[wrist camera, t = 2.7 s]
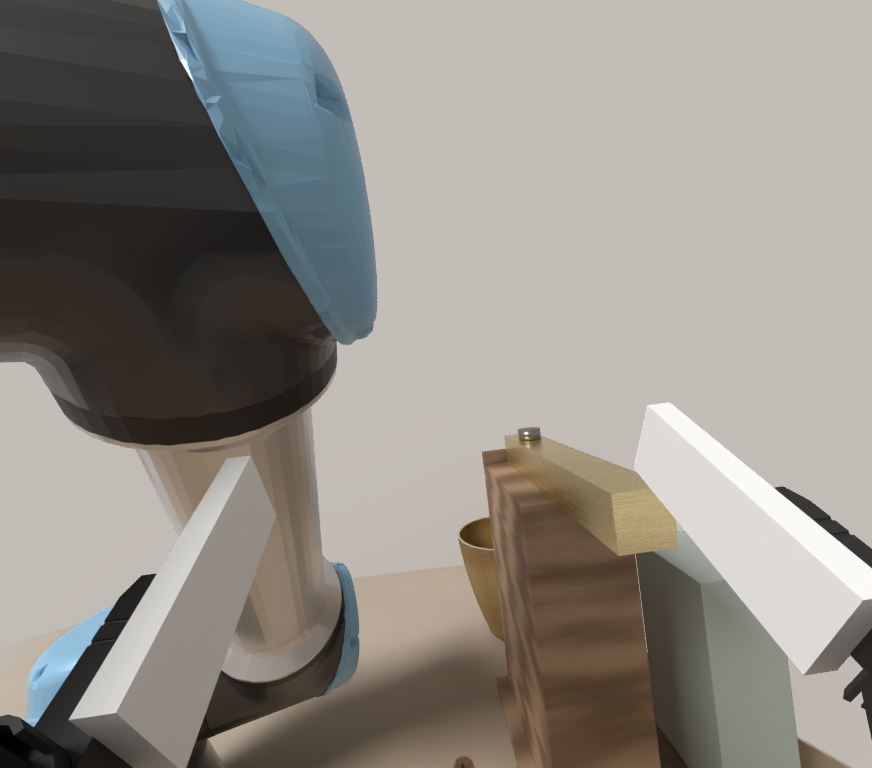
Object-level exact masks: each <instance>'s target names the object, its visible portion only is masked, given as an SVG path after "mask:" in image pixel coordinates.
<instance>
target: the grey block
mask: <svg viewBox="0 0 872 768" xmlns="http://www.w3.org/2000/svg"><path fill="white" fill-rule="evenodd" d="M677 538H678V546H679V547H678V548H671V549H664V550H657V551H650V552H643V553H636V559H637V567H638V575H639V584H640V591H641V600H642V608H643V617H644V625H645V633H646V642H647V650H648V658H649V666H650V675H651V683H652V691H653V699H654V708H655V716H656V723H657V725H658V726H659V727H660V729H661V730H662V732H663V733H664V734H665V736H666V737H667V739H668V740H669V741H670V743H671V744H672V746H673V747H674V748H675V750H676V751H677V753H678V754H679V755H680V757H681V758H682V760H683V761H684V762H685V764H686V765H687V767H688V768H801V764H800V756H799V748H798V740H797V732H796V724H795V716H794V708H793V700H792V692H791V684H790V676H789V669H788V668H789V667H788V660H787V655H786V654H785V652H784V651H783V650H782V649H781V647H780V646H779V645H778V644H777V643H776V641H775V640H774V639H773V638H772V636H771V635H770V634H769V633H768V632H767V630H766V629H765V628H764V627H763V625H762V624H761V623H760V622H759V621H758V619H757V618H756V617H755V616H754V614H753V613H752V612H751V611H750V610H749V608H748V607H747V606H746V605H745V604H744V602H743V601H742V600H741V599H740V597H739V596H738V595H737V594H736V593H735V591H734V590H733V589H732V588H731V586H730V585H729V584H728V583H727V582H726V580H725V579H724V578H723V577H722V575H721V574H720V573H719V572H718V571H717V569H716V568H715V567H714V566H713V564H712V563H711V562H710V561H709V560H708V558H707V557H706V556H705V555H704V553H703V552H702V551H701V550H700V549H699V547H698V546H697V545H696V544H695V542H694V541H693V540H692V539H691V538H690V536H689V535H688V534H687V533H686V531H678V532H677Z"/></svg>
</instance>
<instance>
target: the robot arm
mask: <svg viewBox="0 0 872 768" xmlns="http://www.w3.org/2000/svg"><path fill="white" fill-rule="evenodd" d="M376 312H377V275H376V262H375V251H374V240H373V232H372V223H371V216H370V209H369V203H368V197H367V191H366V185H365V178H364V172H363V167H362V162H361V157H360V152H359V147H358V143H357V139H356V135H355V131H354V127H353V123H352V119H351V115H350V112H349V108H348V104H347V101H346V98H345V95H344V92H343V89H342V86H341V83H340V81H339V78H338V76H337V73H336V71H335V69H334V67H333V65H332V63H331V61H330V59H329V58H328V56H327V54H326V53H325V51H324V50H323V48H322V47H321V46H320V44H319V43H318V42H317V41H316V39H315V38H314V37H313V36H312V35H311V34H310V33H309V32H308V31H307V30H306V29H305V28H304V27H303V26H301V25H300V24H299V23H297V22H296V21H294V20H293V19H291V18H289V17H287V16H285V15H282V14H280V13H278V12H275V11H272V10H268V9H265V8H263V7H259V6H257V5H254V4H250V3H248V2H244V1H241V0H0V362H26V363H27V364H29V365H31V366H33V367H35V369H36V370H37V371H38V373H39V374H40V375H41V377H42V379H43V381H44V383H45V384H46V385H47V387H48V388H49V389H50V391H51V393H52V395H53V396H54V398H55V400H56V401H57V403H58V404H59V406H60V408H61V409H62V411H63V413H64V414H65V415H66V417H67V418H68V420H69V421H70V422H71V423H73V425H74V426H76V427H77V428H78V429H79V430H81V431H83V432H85V433H86V434H88V435H90V436H91V437H93V438H96V439H99V440H101V441H104V442H107V443H110V444H114V445H118V446H123V447H126V448H134V449H136V451H137V453H138V455H139V457H140V459H141V461H142V463H143V466H144V468H145V469H146V472H147V473H148V475H149V478H150V480H151V482H152V484H153V486H154V488H155V490H156V492H157V494H158V496H159V498H160V500H161V502H162V504H163V506H164V508H165V510H166V512H167V514H168V516H169V519H170V521H171V523H172V524H173V527H174V529H175V531H176V532H177V535H178V537H179V538H178V540H177V542H176V543H175V545H174V546H173V548H172V550H171V551H170V553H169V555H168V556H167V558H166V560H165V561H164V563H163V565H162V566H161V568H160V570H159V571H158V573H157V574H150V575H143V576H141V577H140V578H139V579H138V580H137V581H136V582H135V583H134V584H133V585H132V586H131V587H130V588H129V589H128V590H127V591H126V592H124V594H123V595H122V596H120V598H119V599H118V601H117V602H116V604H114V605H112V606H110V607H108V608H106V609H104V610H102V611H101V612H99V613H97V614H95V615H93V616H92V617H90V618H88V619H86V620H85V621H83V622H82V623H80V624H78V625H77V626H75V627H74V628H72V629H71V630H70V631H68V632H67V633H65V634H64V635H63V636H61V637H60V638H59V639H58V640H56V641H55V642H54V643H53V644H52V645H51V646H50V647H49V648H48V649H47V650H46V651H45V652H44V653H43V654H42V655H41V656H40V657H39V659H38V660H37V661H36V663H35V665H34V666H33V668H32V670H31V672H30V675H29V678H28V715H27V717H26V722H25V721H24V720H22V719H21V718H19V717H15V716H12V715H5V716H1V717H0V768H225V766H224V764H223V763H222V761H221V759H220V758H219V756H218V755H217V753H216V751H215V750H214V748H213V747H212V745H211V743H210V742H209V740H208V738H210V737H212V736H215V735H217V734H219V733H222V732H225V731H227V730H230V729H232V728H235V727H238V726H240V725H243V724H245V723H248V722H251V721H253V720H256V719H259V718H261V717H264V716H266V715H269V714H272V713H274V712H277V711H279V710H282V709H285V708H287V707H290V706H293V705H295V704H298V703H300V702H303V701H306V700H308V699H311V698H313V697H319V696H324V695H326V694H328V693H329V692H330V691H331V690H333V689H335V688H337V687H339V686H341V685H343V684H345V683H346V682H348V681H349V680H350V679H351V677H352V676H353V674H354V672H355V670H356V667H357V663H358V658H359V638H358V634H359V618H358V609H357V601H356V595H355V590H354V586H353V582H352V578H351V575H350V573H349V571H348V569H347V567H345V565H344V564H343V563H340V562H335V563H332V562H329V561H328V560H327V559H326V558H325V557H324V556H322V545H321V533H320V519H319V506H318V492H317V479H316V468H315V453H314V440H313V427H312V414H311V406H312V405H313V404H314V403H315V402H317V401H318V400H319V399H320V398H321V396H322V395H323V394H324V393H325V392H326V391H327V389H328V387H329V386H330V384H331V383H332V381H333V378H334V376H335V373H336V367H337V366H336V365H337V346H336V341H338V342H339V343H341V344H344V345H350V344H352V343H353V342H354V341H355V340H357V339H363V338H365V337H367V336H368V335H369V334H370V333H371V332H372V330H373V322H374V321H375V319H376ZM634 469H635V470H636V471H637V473H638V474H639V475H640V476H641V478H642V479H643V480H644V481H645V483H646V484H647V485H648V486H649V487H650V489H651V490H652V491H653V492H654V494H655V495H656V496H657V497H658V498H659V500H660V501H661V502H662V503H663V505H664V506H665V507H666V508H667V509H668V511H669V512H670V513H671V514H672V516H673V517H674V518H675V519H676V520H677V522H678V523H679V524H680V525H681V527H682V528H683V529H684V530H685V531H686V533H687V534H688V535H689V536H690V538H691V539H692V540H693V541H694V542H695V544H696V545H697V546H698V547H699V549H700V550H701V551H702V552H703V553H704V555H705V556H706V557H707V558H708V560H709V561H710V562H711V563H712V564H713V566H714V567H715V568H716V569H717V571H718V572H719V573H720V574H721V575H722V577H723V578H724V579H725V580H726V582H727V583H728V584H729V585H730V586H731V588H732V589H733V590H734V591H735V593H736V594H737V595H738V596H739V597H740V599H741V600H742V601H743V602H744V604H745V605H746V606H747V607H748V608H749V610H750V611H751V612H752V613H753V614H754V616H755V617H756V618H757V619H758V621H759V622H760V623H761V624H762V625H763V627H764V628H765V629H766V630H767V632H768V633H769V634H770V635H771V636H772V638H773V639H774V640H775V641H776V643H777V644H778V645H779V646H780V647H781V649H782V650H783V651H784V652H785V654H786V655H787V656H788V657H789V658H790V660H791V661H792V662H793V663H794V665H795V666H796V667H797V668H798V669H799V671H800V672H801V673H802V674H803V675H809V674H816V673H822V672H829V671H834V670H838V669H839V667H840V666H841V665H842V664H843V663H844V662H845V660H846V659H847V658H848V657H849V656H850V655H851V656H852V657H853V658H854V659H855V660H856V661H857V662H858V663H859V664H860V666H861V667H862V668H863V670H862V671H861V672H860V673H859V674H858V675H857V676H856V677H855V679H853V681H852V682H851V683H850V684H849V685H848V686H847V687H846V688H845V689H844V696H843V699H845V700H847V701H849V702H851V701H852V700H853V699H854V698H855V697H856V696H857V695H858V694H859V693H860V692H861V691H862V696H863V700H864V702H863V704H862V705H861V707H862V708H864V709H865V710H866V715H867V719H868V724H869V729H870V733H871V738H872V549H871V548H870V547H868V546H867V545H866V544H865V543H863V542H862V541H861V540H860V539H858V538H857V537H856V536H854V535H850V534H849V531H848V530H847V529H846V528H844V527H843V526H842V525H840V524H839V523H838V522H836V521H835V520H834V521H833V520H831V517H830V516H829V515H828V514H826V513H825V512H824V511H822V510H821V509H820V508H819V507H817V506H816V505H815V504H813V503H812V502H811V501H810V500H808V499H806V498H804V497H802V496H800V495H798V494H796V493H794V492H792V491H791V490H789V489H786V488H785V487H776V488H773V487H772V486H770V484H768V483H767V482H766V481H765V480H764V479H762V478H761V477H760V476H758V475H757V474H756V473H755V472H754V471H753V470H751V469H750V468H749V467H748V466H746V465H745V464H744V463H743V462H741V461H740V460H739V459H738V458H736V457H735V456H734V455H733V454H732V453H731V452H729V451H728V450H727V449H726V448H725V447H723V446H722V445H721V444H720V443H718V442H717V441H716V440H715V439H714V438H712V437H711V436H710V435H709V434H707V433H706V432H705V431H704V430H703V429H701V428H700V427H699V426H698V425H696V424H695V423H694V422H693V421H692V420H690V419H689V418H688V417H687V416H686V415H684V414H683V413H682V412H681V411H679V410H678V409H677V408H676V407H675V406H673V405H672V404H671V403H662V404H655V405H648V406H647V410H646V415H645V419H644V424H643V428H642V432H641V437H640V441H639V446H638V450H637V455H636V459H635V464H634Z"/></svg>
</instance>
